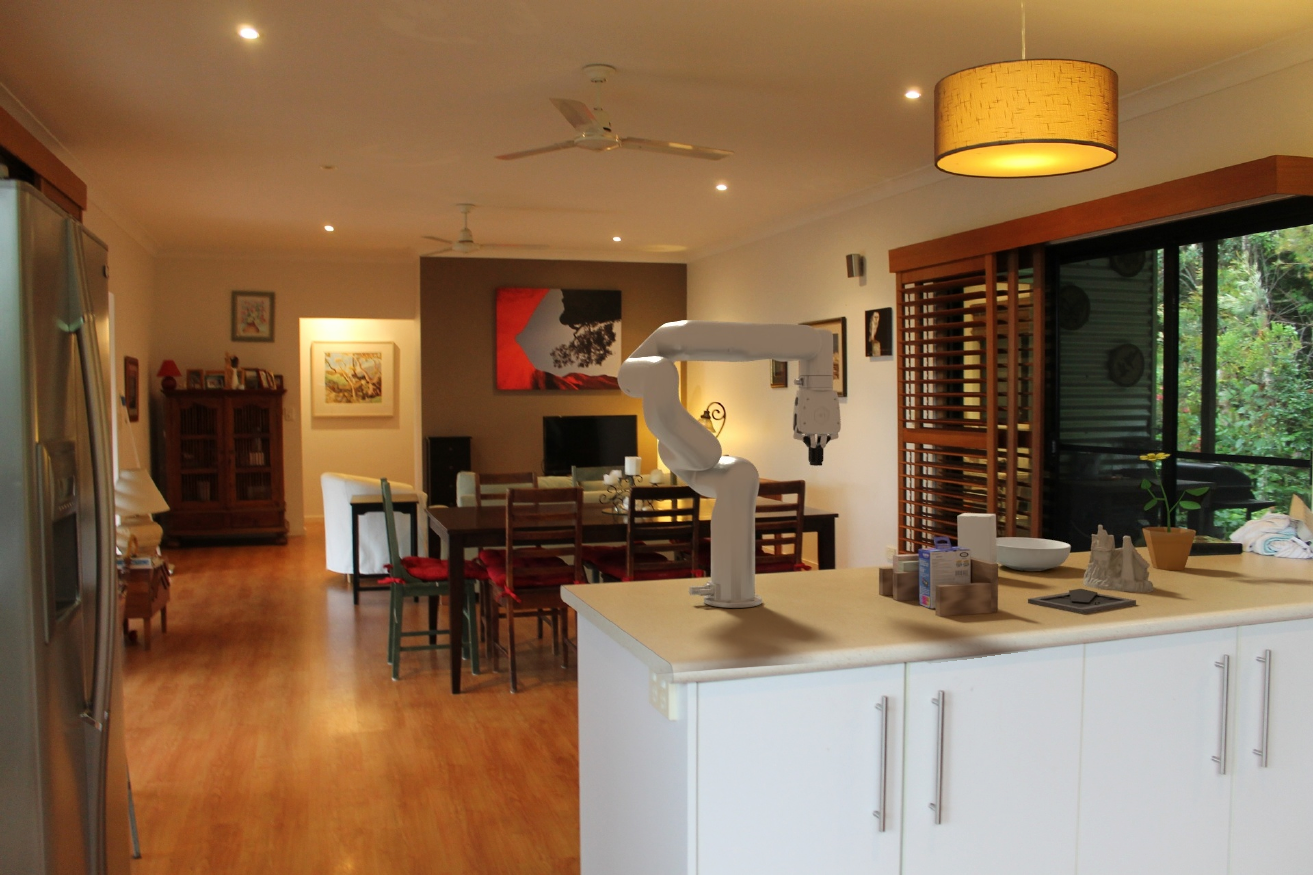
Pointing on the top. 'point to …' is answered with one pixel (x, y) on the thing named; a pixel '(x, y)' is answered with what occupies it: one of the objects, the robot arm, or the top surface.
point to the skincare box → (978, 535)
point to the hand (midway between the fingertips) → (815, 465)
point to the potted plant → (1169, 542)
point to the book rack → (943, 586)
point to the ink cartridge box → (942, 569)
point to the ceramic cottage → (1116, 565)
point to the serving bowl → (1031, 553)
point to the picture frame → (1082, 601)
